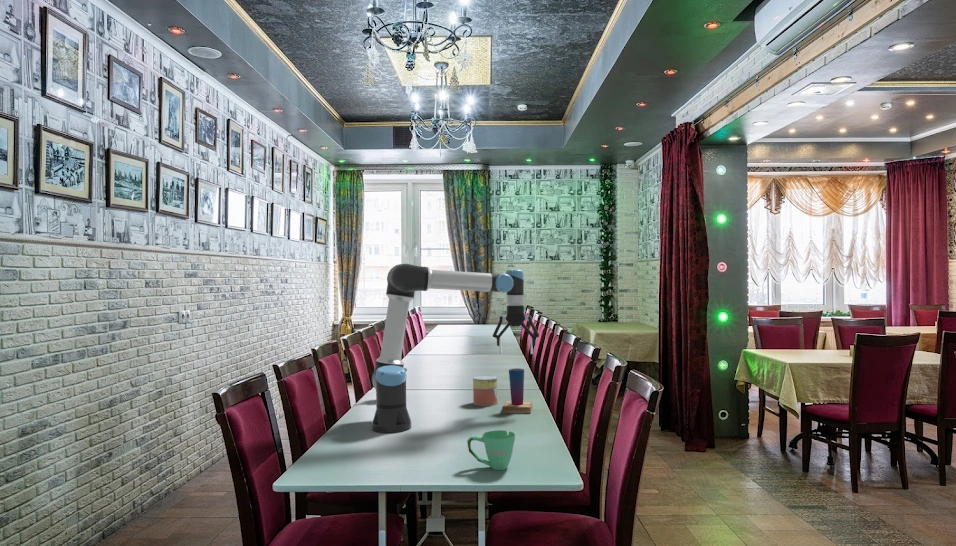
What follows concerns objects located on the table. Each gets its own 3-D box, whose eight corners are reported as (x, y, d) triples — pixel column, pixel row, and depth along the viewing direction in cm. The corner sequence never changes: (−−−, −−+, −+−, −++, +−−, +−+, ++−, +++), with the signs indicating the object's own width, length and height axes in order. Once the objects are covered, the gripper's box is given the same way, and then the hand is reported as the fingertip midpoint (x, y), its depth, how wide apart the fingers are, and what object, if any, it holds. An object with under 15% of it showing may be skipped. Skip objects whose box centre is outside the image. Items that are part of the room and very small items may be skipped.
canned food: (496, 406, 264) (495, 379, 264) (471, 405, 266) (471, 379, 266) (499, 401, 275) (498, 375, 275) (475, 400, 277) (475, 375, 277)
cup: (515, 401, 260) (514, 367, 260) (528, 403, 256) (527, 369, 256) (506, 404, 255) (505, 370, 255) (519, 406, 250) (518, 371, 251)
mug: (515, 462, 182) (515, 430, 182) (515, 472, 172) (514, 438, 172) (468, 462, 183) (468, 430, 183) (465, 472, 173) (465, 438, 173)
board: (530, 413, 248) (530, 407, 248) (502, 412, 250) (502, 406, 250) (532, 407, 260) (532, 401, 260) (505, 406, 262) (505, 401, 262)
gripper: (544, 304, 258) (545, 352, 257) (488, 304, 261) (489, 352, 261) (543, 305, 250) (544, 354, 250) (485, 305, 254) (486, 354, 254)
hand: (516, 353), depth 256 cm, fingers open, 13 cm apart
